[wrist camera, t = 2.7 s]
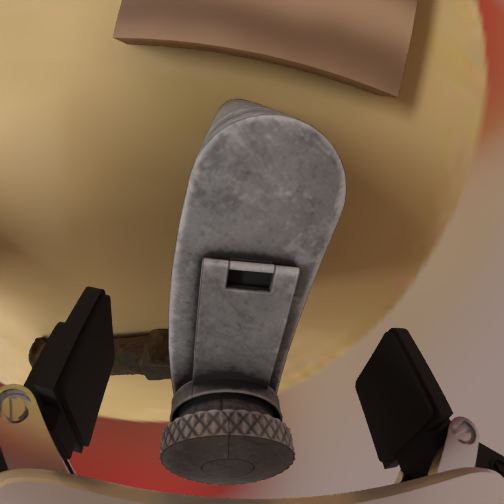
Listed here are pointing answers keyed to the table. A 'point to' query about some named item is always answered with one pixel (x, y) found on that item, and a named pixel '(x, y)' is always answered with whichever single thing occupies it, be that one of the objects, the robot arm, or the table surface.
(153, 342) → the hand tool
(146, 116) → the table surface
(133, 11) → the brown flat square piece
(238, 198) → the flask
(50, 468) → the robot arm
